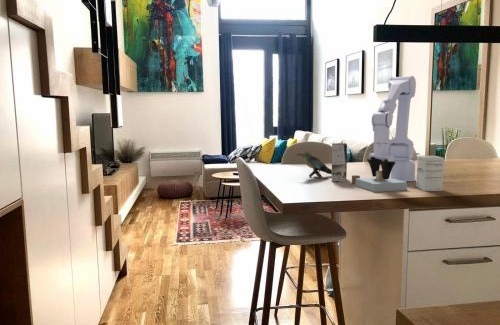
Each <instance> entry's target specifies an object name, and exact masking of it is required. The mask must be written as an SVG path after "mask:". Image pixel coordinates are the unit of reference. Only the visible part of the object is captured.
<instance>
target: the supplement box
mask: <svg viewBox="0 0 500 325" xmlns="http://www.w3.org/2000/svg"><path fill="white" fill-rule="evenodd" d="M444 160H445V158H444V157H442V156H437V155H417V162H416V186H415V188H418V189H419V190H421V191H425V192H442V191H443V184H444V183H443V181H444V164H445V163H444V162H445V161H444Z"/></svg>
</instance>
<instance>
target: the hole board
mask: <svg viewBox="0 0 500 325" xmlns="http://www.w3.org/2000/svg"><path fill="white" fill-rule="evenodd" d="M354 186H355V187H358V188H361V189H363V188H364V190H366V189H367V191H369V190H370V192H373V193H374V192H375V193H377V192H379V193H380V192H395V191H407V190H408V189H407V188H408V181H406V182H405V181H401V180H397V179H393V178H391V177H389V179H385V180H384V181H376V177H373V176H372V177H360V178H356V180H355V185H354Z"/></svg>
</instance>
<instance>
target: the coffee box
mask: <svg viewBox="0 0 500 325" xmlns="http://www.w3.org/2000/svg"><path fill="white" fill-rule="evenodd" d="M347 166H348V144H347V143H346V142H337V143H334V142H333V143H331V170H332V174H331V182H336V181H339V182H341V183H346V182H347V175H348V174H347V169H348V167H347Z"/></svg>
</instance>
